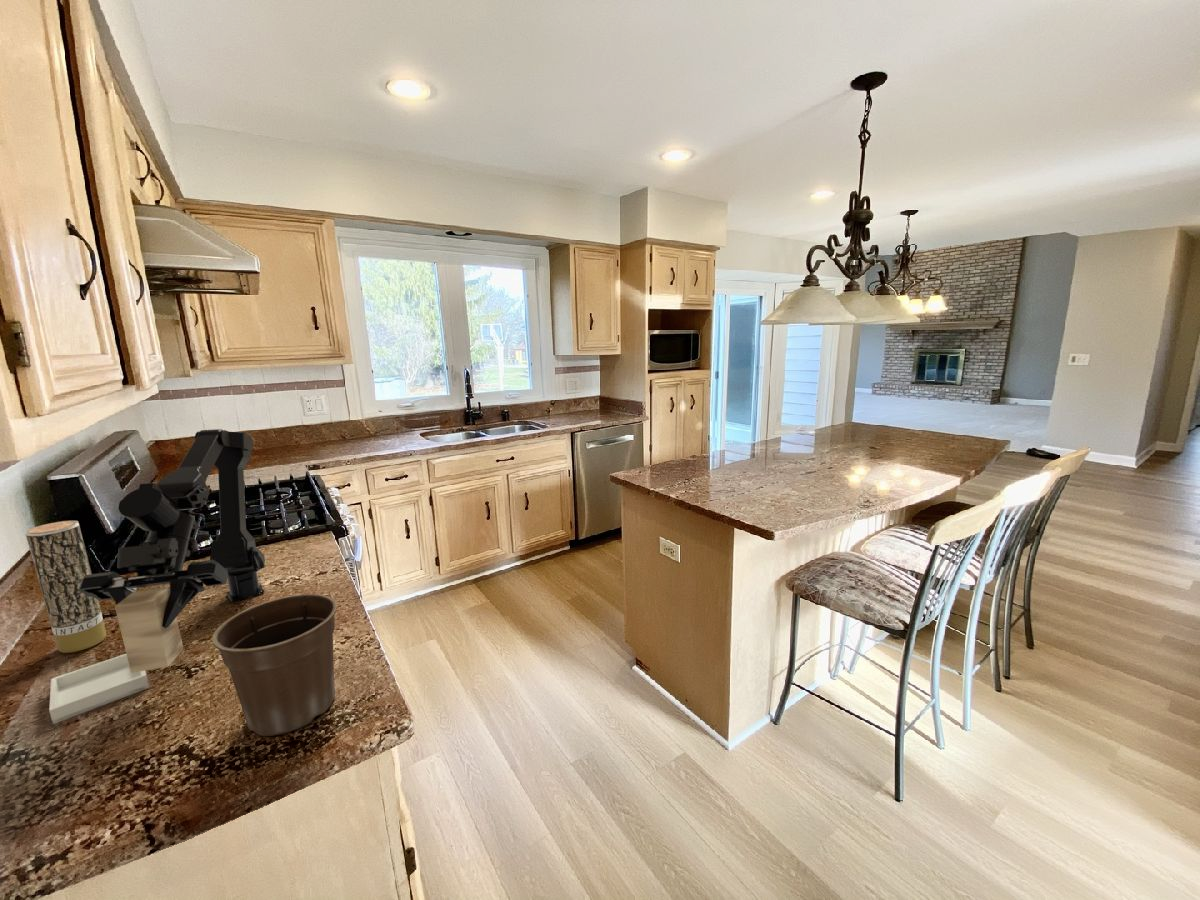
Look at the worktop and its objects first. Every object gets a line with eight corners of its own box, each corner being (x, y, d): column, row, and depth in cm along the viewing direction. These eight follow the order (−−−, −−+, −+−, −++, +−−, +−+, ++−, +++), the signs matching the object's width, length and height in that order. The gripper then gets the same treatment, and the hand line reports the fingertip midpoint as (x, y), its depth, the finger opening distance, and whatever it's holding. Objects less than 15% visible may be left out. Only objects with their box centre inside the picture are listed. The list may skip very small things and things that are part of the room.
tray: (54, 691, 83) (51, 678, 82) (142, 660, 91) (140, 648, 91) (53, 724, 76) (49, 710, 75) (149, 687, 84) (146, 675, 83)
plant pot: (239, 695, 81) (222, 608, 78) (346, 664, 89) (335, 584, 86) (222, 765, 68) (200, 663, 64) (350, 721, 75) (337, 628, 72)
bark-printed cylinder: (58, 645, 96) (26, 527, 91) (106, 630, 101) (78, 518, 96) (57, 659, 92) (23, 536, 87) (108, 643, 97) (78, 526, 92)
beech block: (148, 654, 83) (133, 591, 81) (183, 649, 85) (169, 586, 82) (131, 672, 79) (114, 606, 76) (168, 666, 80) (153, 601, 78)
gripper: (71, 529, 78) (35, 628, 70) (208, 516, 83) (189, 606, 75) (114, 555, 87) (86, 645, 79) (235, 542, 92) (220, 624, 84)
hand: (145, 630), depth 79 cm, fingers closed on beech block, 5 cm apart
